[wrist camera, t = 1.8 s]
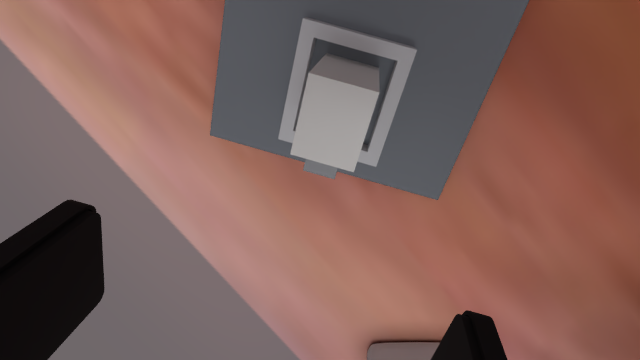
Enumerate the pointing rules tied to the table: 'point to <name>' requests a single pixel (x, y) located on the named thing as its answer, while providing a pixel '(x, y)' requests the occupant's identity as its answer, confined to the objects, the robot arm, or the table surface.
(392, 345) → the photo printer
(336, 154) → the plug
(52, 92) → the table surface
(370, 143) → the dock board
